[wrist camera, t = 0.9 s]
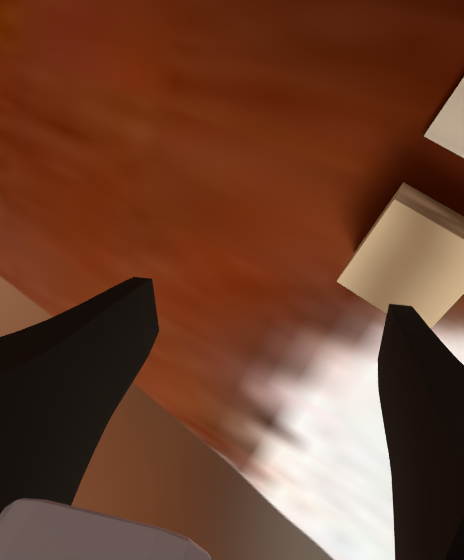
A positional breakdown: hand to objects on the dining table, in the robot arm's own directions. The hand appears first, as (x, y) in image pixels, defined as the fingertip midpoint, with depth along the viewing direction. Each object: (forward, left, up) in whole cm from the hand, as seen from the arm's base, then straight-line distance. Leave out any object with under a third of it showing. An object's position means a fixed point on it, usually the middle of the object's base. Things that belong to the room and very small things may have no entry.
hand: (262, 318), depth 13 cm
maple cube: (-4, 0, -15) cm, 15 cm away
